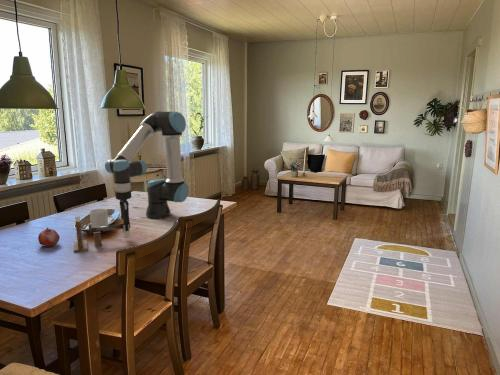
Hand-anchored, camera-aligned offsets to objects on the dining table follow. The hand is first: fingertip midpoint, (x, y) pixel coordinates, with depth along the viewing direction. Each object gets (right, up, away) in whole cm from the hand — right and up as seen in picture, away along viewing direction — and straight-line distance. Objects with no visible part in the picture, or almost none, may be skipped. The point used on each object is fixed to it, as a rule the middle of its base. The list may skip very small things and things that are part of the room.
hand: (126, 234), depth 189 cm
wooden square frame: (-20, -5, -8) cm, 22 cm away
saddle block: (-12, -5, -5) cm, 14 cm away
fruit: (-36, -5, -6) cm, 37 cm away
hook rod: (-7, +1, -3) cm, 8 cm away
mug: (-20, 0, +18) cm, 27 cm away
